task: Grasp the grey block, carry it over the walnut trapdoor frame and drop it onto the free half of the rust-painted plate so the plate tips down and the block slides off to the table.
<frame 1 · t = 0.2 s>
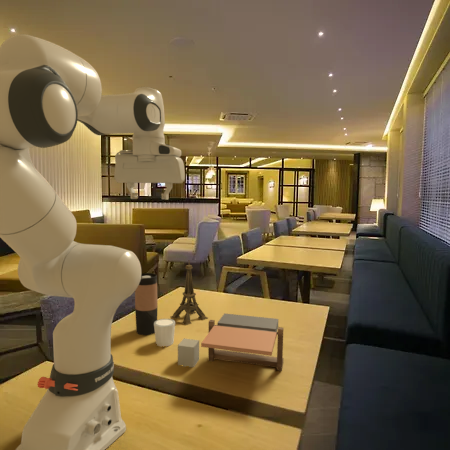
hand: (149, 199, 99), 47 cm above the table, fingers open, 8 cm apart
eiffel tower: (189, 318, 137), on the table
trapdoor: (240, 375, 95), resting on trapdoor frame, hinge at 0.0°
trapdoor frame: (240, 375, 95), on the table
grey block: (188, 362, 102), on the table
travel mug: (146, 331, 124), on the table
shot glass: (164, 343, 114), on the table
stone mortar: (236, 338, 119), on the table
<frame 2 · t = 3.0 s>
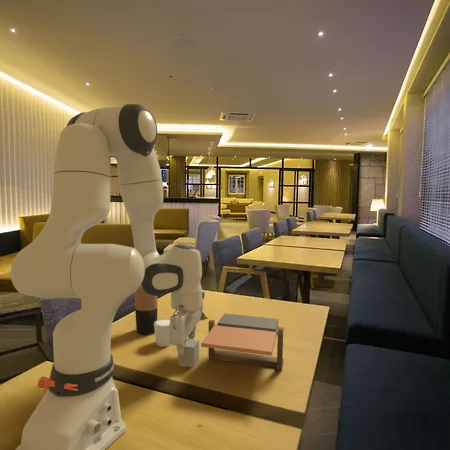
hand: (186, 345, 103), 4 cm above the table, fingers open, 8 cm apart
nothing on the table moved.
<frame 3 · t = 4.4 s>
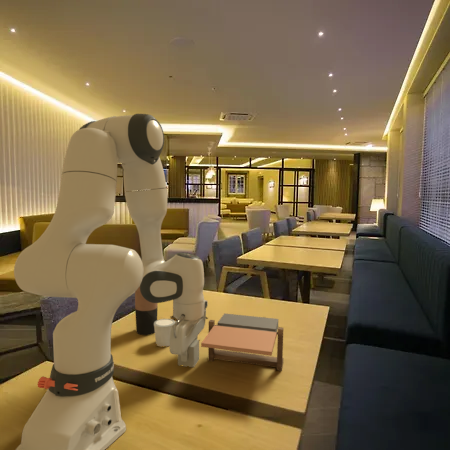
hand: (188, 355, 102), 2 cm above the table, fingers closed on grey block, 5 cm apart
grey block: (188, 362, 102), on the table, touching gripper
everything else where it was.
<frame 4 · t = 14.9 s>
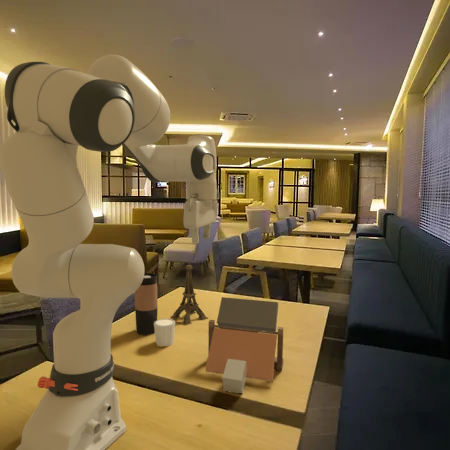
hand: (201, 240, 102), 35 cm above the table, fingers open, 8 cm apart
trapdoor: (246, 362, 104), hinge at -46.3°, touching grey block
grey block: (237, 366, 91), point 4 cm above the table, tilted 110°, touching trapdoor
everything else where it was.
at the end: grey block point 4.3 cm above the table; grey block moved 17.8 cm from its start; the gripper is holding nothing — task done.
